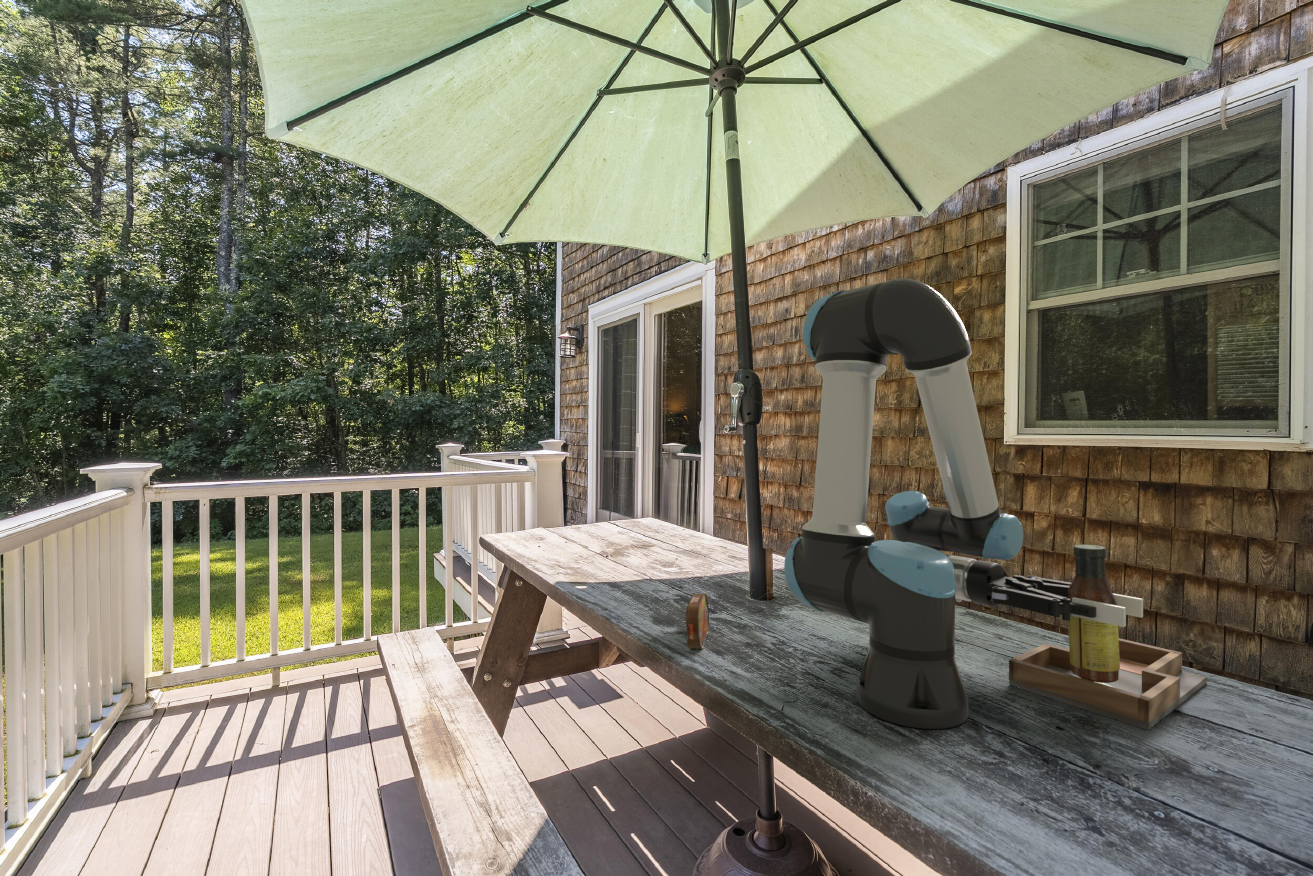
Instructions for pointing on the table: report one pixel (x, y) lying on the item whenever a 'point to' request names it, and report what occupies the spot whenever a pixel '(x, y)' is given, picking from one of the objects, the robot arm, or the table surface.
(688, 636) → the tin
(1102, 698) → the keyhole guide
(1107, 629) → the sauce bottle
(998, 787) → the table surface
